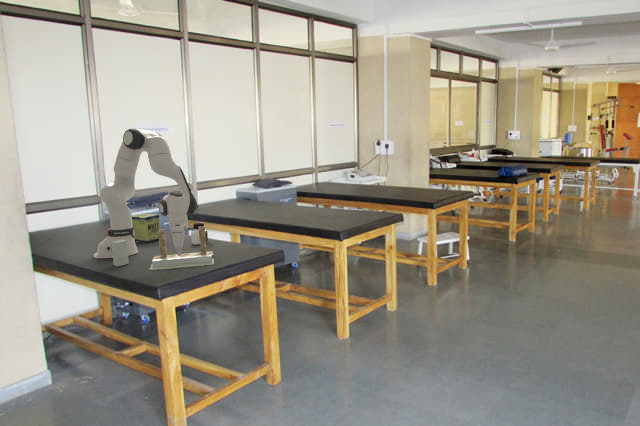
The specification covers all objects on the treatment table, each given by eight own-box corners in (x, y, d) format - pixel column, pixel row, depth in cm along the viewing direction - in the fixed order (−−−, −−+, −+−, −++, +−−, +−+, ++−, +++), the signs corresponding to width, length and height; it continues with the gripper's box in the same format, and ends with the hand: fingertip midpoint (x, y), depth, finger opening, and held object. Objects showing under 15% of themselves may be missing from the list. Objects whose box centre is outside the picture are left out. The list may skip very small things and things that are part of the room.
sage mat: (149, 270, 242) (149, 269, 242) (151, 265, 252) (151, 263, 251) (214, 264, 248) (214, 263, 248) (213, 259, 258) (213, 258, 258)
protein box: (148, 243, 302) (146, 217, 299) (130, 241, 310) (127, 216, 307) (161, 239, 311) (159, 214, 308) (144, 237, 319) (141, 213, 316)
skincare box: (124, 262, 258) (122, 239, 256) (129, 264, 255) (127, 240, 253) (113, 265, 253) (110, 241, 251) (117, 266, 250) (115, 242, 248)
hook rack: (153, 261, 258) (150, 232, 256) (154, 257, 266) (151, 229, 264) (213, 256, 265) (211, 228, 262) (213, 252, 272) (211, 225, 270)
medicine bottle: (203, 244, 294) (201, 224, 292) (191, 244, 295) (190, 224, 293) (208, 241, 301) (206, 221, 299) (197, 241, 302) (195, 221, 300)
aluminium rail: (152, 267, 245) (152, 261, 245) (153, 265, 248) (152, 259, 248) (212, 261, 251) (211, 255, 251) (212, 260, 254) (211, 254, 254)
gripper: (173, 221, 256) (174, 248, 258) (170, 229, 236) (172, 258, 238) (186, 221, 257) (187, 247, 259) (184, 228, 237) (186, 257, 240)
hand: (180, 253), depth 249 cm, fingers open, 8 cm apart
